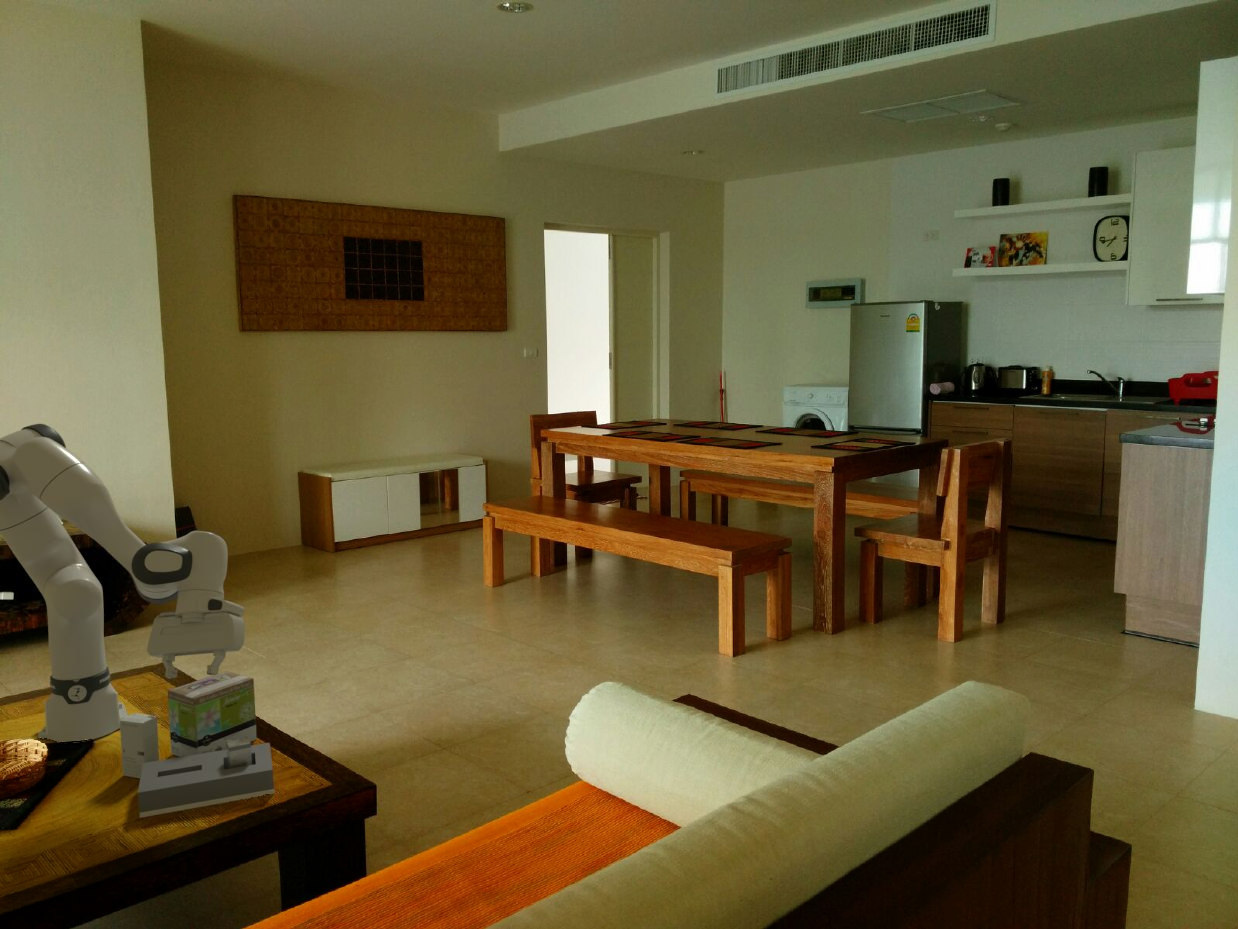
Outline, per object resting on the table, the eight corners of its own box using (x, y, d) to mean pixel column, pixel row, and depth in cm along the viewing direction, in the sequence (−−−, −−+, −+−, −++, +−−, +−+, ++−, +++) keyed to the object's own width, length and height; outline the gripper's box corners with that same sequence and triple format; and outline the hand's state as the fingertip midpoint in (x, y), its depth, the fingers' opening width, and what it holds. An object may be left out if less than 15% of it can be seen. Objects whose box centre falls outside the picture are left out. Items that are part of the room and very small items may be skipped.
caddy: (145, 786, 198) (143, 763, 197) (271, 765, 207) (269, 742, 206) (139, 817, 185) (137, 792, 185) (274, 793, 194) (272, 769, 193)
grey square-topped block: (228, 778, 199) (225, 740, 198) (249, 773, 201) (247, 736, 200) (232, 786, 195) (229, 748, 194) (253, 781, 197) (250, 743, 196)
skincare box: (122, 776, 203) (116, 720, 201) (138, 767, 207) (133, 712, 206) (146, 780, 201) (141, 723, 200) (162, 770, 205) (157, 715, 204)
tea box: (199, 765, 208) (194, 698, 206) (170, 755, 213) (165, 689, 211) (258, 739, 220) (254, 676, 218) (230, 730, 226) (225, 668, 224)
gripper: (145, 609, 202) (135, 677, 197) (234, 601, 198) (226, 670, 193) (165, 616, 208) (156, 682, 203) (251, 607, 204) (245, 675, 199)
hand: (191, 676), depth 198 cm, fingers open, 8 cm apart
